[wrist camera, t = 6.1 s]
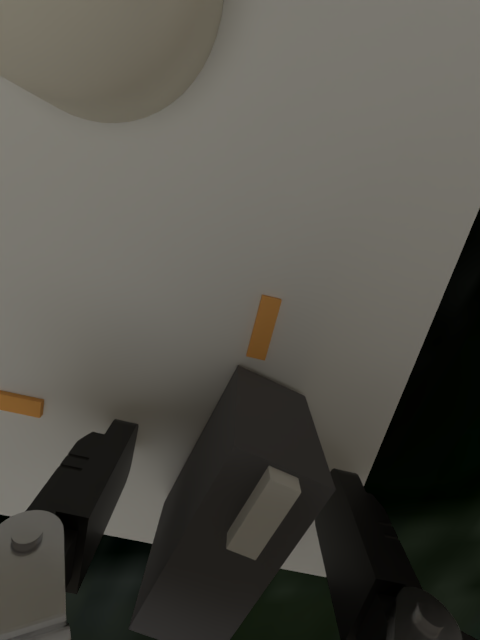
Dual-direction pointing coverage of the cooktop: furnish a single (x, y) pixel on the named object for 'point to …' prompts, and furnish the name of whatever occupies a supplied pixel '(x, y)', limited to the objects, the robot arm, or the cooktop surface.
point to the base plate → (223, 221)
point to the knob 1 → (233, 512)
